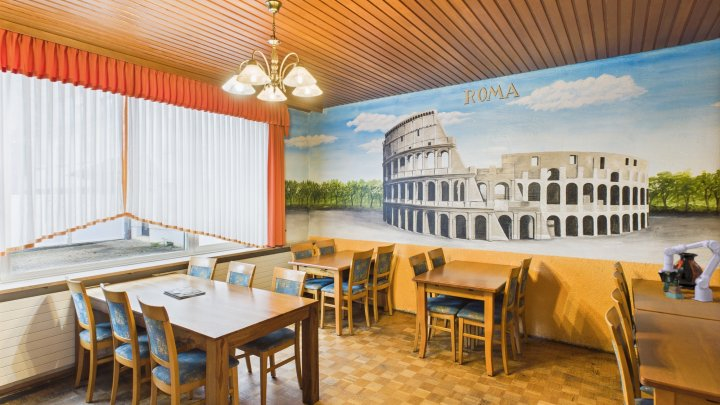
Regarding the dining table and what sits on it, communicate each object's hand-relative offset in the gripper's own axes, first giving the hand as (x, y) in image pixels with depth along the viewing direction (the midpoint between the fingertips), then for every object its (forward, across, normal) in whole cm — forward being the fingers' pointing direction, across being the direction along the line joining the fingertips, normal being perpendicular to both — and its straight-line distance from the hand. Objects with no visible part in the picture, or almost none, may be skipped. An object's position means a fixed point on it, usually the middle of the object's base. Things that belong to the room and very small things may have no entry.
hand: (667, 281), depth 279 cm
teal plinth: (+10, -2, +4) cm, 11 cm away
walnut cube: (+8, -2, +4) cm, 9 cm away
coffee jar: (+11, -15, -10) cm, 21 cm away
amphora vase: (+11, -41, -20) cm, 47 cm away
